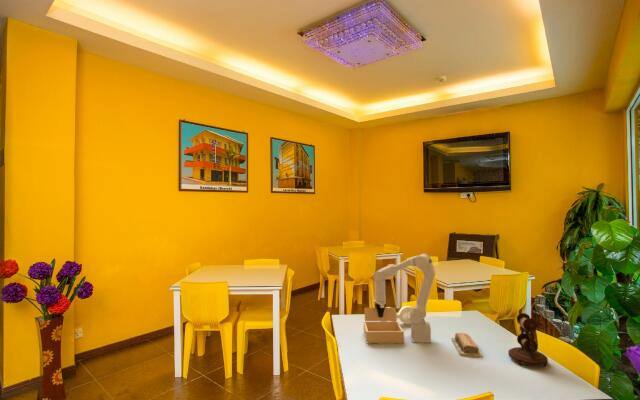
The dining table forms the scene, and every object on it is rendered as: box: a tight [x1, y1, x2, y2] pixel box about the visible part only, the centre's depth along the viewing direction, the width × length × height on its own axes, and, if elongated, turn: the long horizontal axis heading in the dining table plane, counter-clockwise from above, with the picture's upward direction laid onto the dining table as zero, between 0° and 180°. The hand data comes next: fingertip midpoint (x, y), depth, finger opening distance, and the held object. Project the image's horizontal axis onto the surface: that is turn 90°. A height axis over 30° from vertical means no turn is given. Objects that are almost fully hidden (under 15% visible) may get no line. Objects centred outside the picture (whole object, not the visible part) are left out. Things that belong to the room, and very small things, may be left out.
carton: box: [363, 321, 405, 345], centre depth 173 cm, size 19×14×6 cm
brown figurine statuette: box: [508, 312, 549, 367], centre depth 146 cm, size 15×15×20 cm
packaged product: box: [451, 332, 484, 358], centre depth 159 cm, size 18×5×10 cm
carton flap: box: [364, 307, 397, 322], centre depth 181 cm, size 17×7×1 cm
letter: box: [380, 305, 414, 325], centre depth 192 cm, size 22×2×10 cm, turn 99°
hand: (380, 317), depth 180 cm, fingers closed
